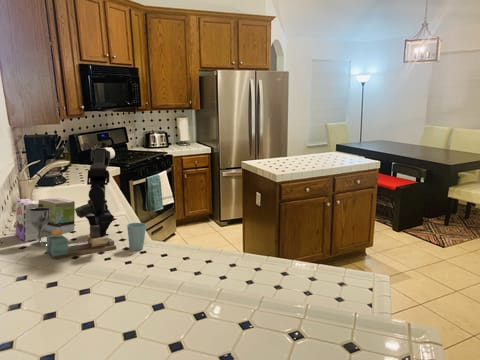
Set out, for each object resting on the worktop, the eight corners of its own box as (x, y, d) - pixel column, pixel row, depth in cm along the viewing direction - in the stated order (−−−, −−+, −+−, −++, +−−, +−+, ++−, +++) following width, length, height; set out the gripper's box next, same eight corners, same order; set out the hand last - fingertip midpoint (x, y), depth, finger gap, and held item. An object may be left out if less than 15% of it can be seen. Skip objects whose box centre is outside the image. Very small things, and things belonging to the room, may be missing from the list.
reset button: (50, 233, 138) (50, 230, 138) (60, 232, 140) (60, 229, 140) (53, 236, 135) (53, 232, 135) (63, 234, 138) (63, 231, 137)
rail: (46, 252, 141) (46, 235, 140) (106, 243, 157) (106, 227, 156) (54, 259, 133) (54, 241, 133) (116, 249, 150) (116, 232, 149)
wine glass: (35, 248, 145) (35, 211, 144) (25, 244, 149) (24, 208, 148) (54, 243, 152) (54, 209, 150) (44, 240, 156) (43, 206, 154)
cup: (142, 245, 157) (143, 222, 156) (147, 250, 150) (148, 226, 149) (125, 247, 153) (125, 223, 152) (129, 252, 146) (129, 227, 145)
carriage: (86, 243, 149) (86, 225, 149) (101, 241, 154) (101, 223, 153) (93, 248, 144) (93, 228, 144) (107, 245, 149) (108, 226, 148)
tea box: (75, 231, 174) (75, 200, 172) (55, 235, 165) (55, 203, 164) (57, 225, 182) (57, 196, 180) (37, 229, 173) (37, 199, 171)
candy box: (15, 235, 161) (14, 199, 160) (29, 233, 166) (29, 198, 164) (24, 242, 152) (23, 204, 150) (39, 240, 156) (39, 203, 154)
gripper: (69, 195, 148) (69, 232, 150) (86, 202, 135) (85, 243, 136) (96, 193, 156) (96, 228, 157) (114, 200, 142) (114, 238, 144)
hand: (97, 234), depth 149 cm, fingers open, 9 cm apart
